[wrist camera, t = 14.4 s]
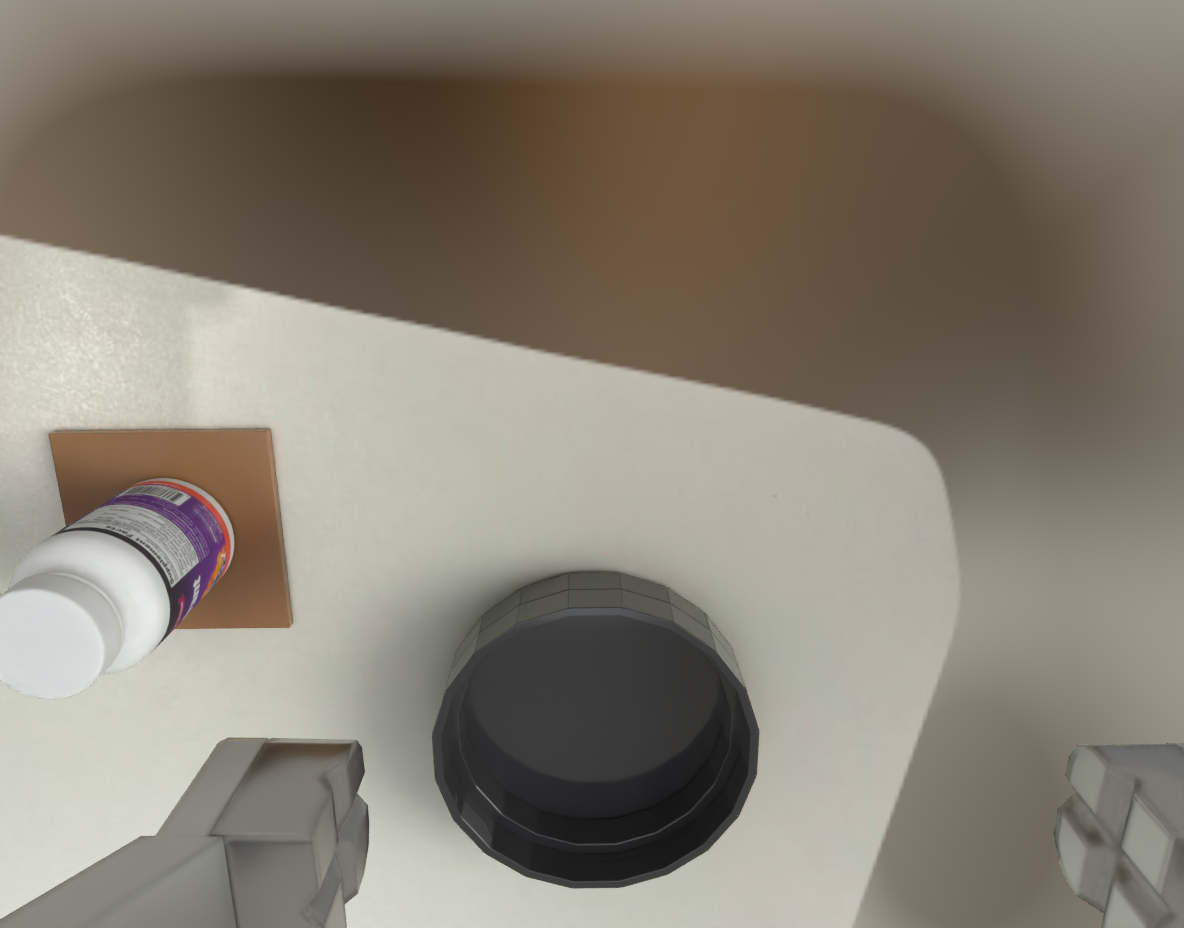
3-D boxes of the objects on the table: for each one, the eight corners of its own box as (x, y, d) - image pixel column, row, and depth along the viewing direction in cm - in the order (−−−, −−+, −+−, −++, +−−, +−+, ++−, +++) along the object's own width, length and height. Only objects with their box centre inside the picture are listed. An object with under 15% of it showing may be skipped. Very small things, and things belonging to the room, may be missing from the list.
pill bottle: (177, 615, 38) (46, 748, 29) (84, 526, 37) (-84, 635, 28) (265, 543, 37) (159, 657, 28) (172, 449, 36) (30, 535, 27)
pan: (437, 572, 38) (423, 609, 35) (749, 568, 38) (766, 605, 35) (453, 833, 42) (442, 890, 39) (736, 829, 42) (750, 886, 39)
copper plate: (54, 430, 36) (47, 433, 36) (271, 428, 36) (266, 431, 36) (91, 625, 39) (85, 630, 38) (293, 622, 39) (289, 628, 38)
